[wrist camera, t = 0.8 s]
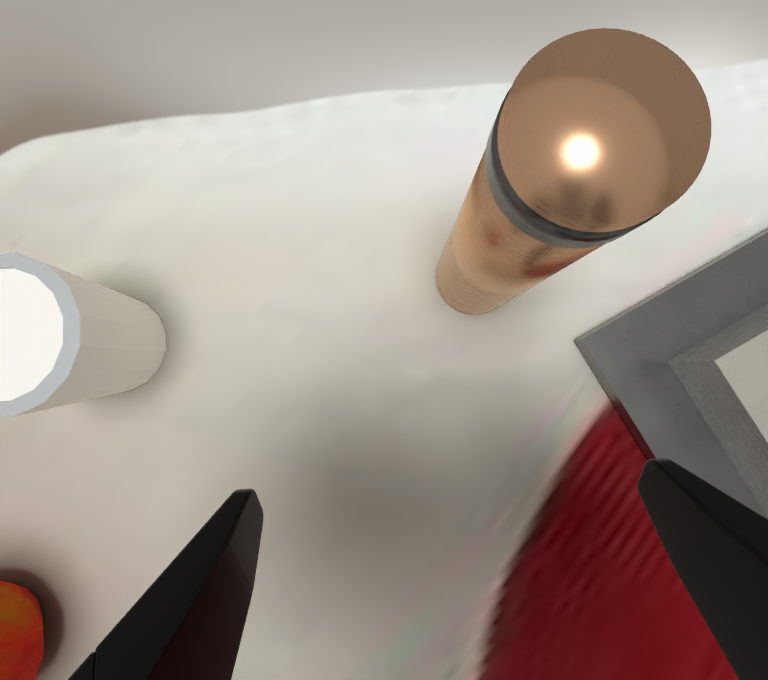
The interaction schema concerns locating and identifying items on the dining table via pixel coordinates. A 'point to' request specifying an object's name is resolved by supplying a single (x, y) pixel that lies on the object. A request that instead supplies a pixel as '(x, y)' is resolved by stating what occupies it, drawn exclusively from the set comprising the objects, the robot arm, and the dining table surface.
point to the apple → (19, 633)
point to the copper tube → (574, 163)
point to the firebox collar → (697, 371)
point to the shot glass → (69, 338)
